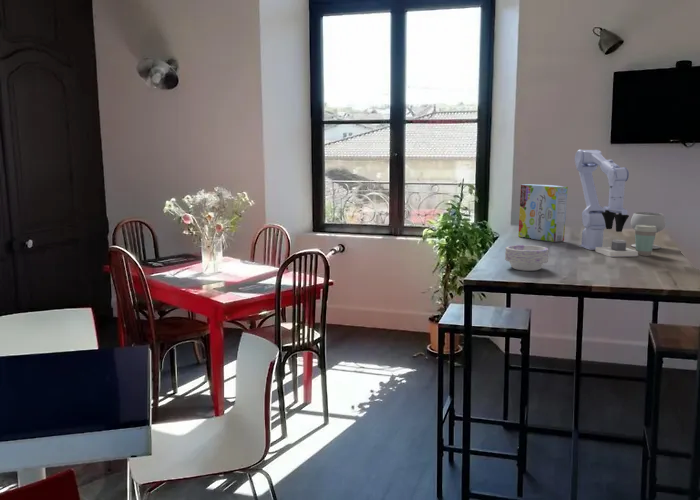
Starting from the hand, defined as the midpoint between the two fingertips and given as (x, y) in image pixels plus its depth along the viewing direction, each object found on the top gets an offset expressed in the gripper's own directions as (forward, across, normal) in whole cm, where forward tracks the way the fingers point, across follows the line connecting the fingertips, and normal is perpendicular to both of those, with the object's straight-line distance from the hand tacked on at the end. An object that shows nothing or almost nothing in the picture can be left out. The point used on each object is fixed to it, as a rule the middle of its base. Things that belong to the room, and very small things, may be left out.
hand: (613, 230), depth 266 cm
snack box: (+10, -43, -12) cm, 46 cm away
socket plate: (+10, -1, +2) cm, 10 cm away
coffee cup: (+10, +2, +13) cm, 17 cm away
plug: (+10, 0, +2) cm, 10 cm away
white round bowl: (+10, +24, -48) cm, 55 cm away
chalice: (+10, -15, +25) cm, 31 cm away
